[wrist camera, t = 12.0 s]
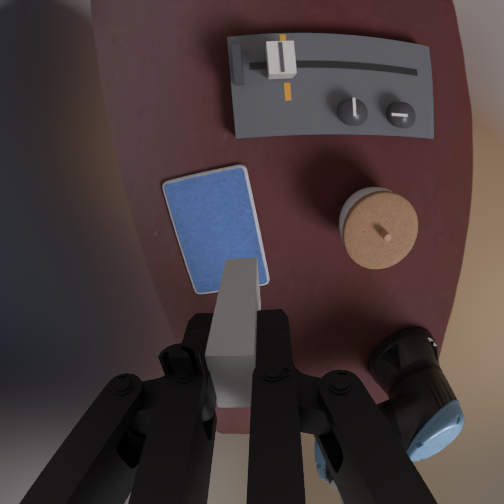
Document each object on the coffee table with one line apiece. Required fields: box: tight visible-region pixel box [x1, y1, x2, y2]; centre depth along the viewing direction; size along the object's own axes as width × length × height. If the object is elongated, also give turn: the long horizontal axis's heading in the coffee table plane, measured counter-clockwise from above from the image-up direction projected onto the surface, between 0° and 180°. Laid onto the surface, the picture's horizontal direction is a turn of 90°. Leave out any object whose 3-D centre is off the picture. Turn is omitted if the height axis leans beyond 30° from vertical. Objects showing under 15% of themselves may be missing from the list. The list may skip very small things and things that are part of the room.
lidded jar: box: [339, 187, 418, 269], centre depth 40 cm, size 11×11×9 cm
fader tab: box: [266, 41, 297, 79], centre depth 30 cm, size 4×3×5 cm
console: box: [227, 33, 434, 139], centre depth 34 cm, size 14×28×5 cm, turn 95°
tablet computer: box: [162, 164, 270, 294], centre depth 46 cm, size 19×13×1 cm, turn 12°
